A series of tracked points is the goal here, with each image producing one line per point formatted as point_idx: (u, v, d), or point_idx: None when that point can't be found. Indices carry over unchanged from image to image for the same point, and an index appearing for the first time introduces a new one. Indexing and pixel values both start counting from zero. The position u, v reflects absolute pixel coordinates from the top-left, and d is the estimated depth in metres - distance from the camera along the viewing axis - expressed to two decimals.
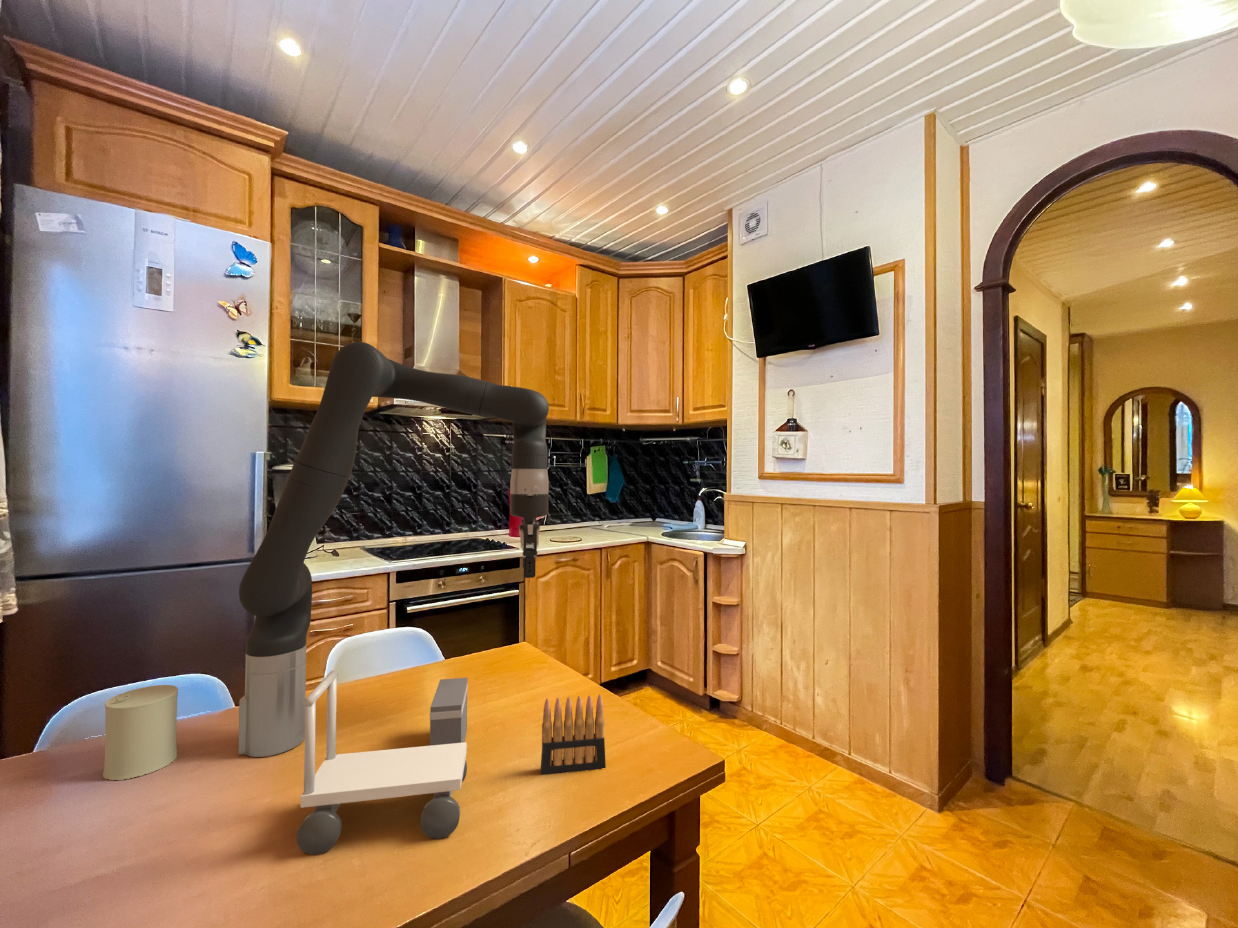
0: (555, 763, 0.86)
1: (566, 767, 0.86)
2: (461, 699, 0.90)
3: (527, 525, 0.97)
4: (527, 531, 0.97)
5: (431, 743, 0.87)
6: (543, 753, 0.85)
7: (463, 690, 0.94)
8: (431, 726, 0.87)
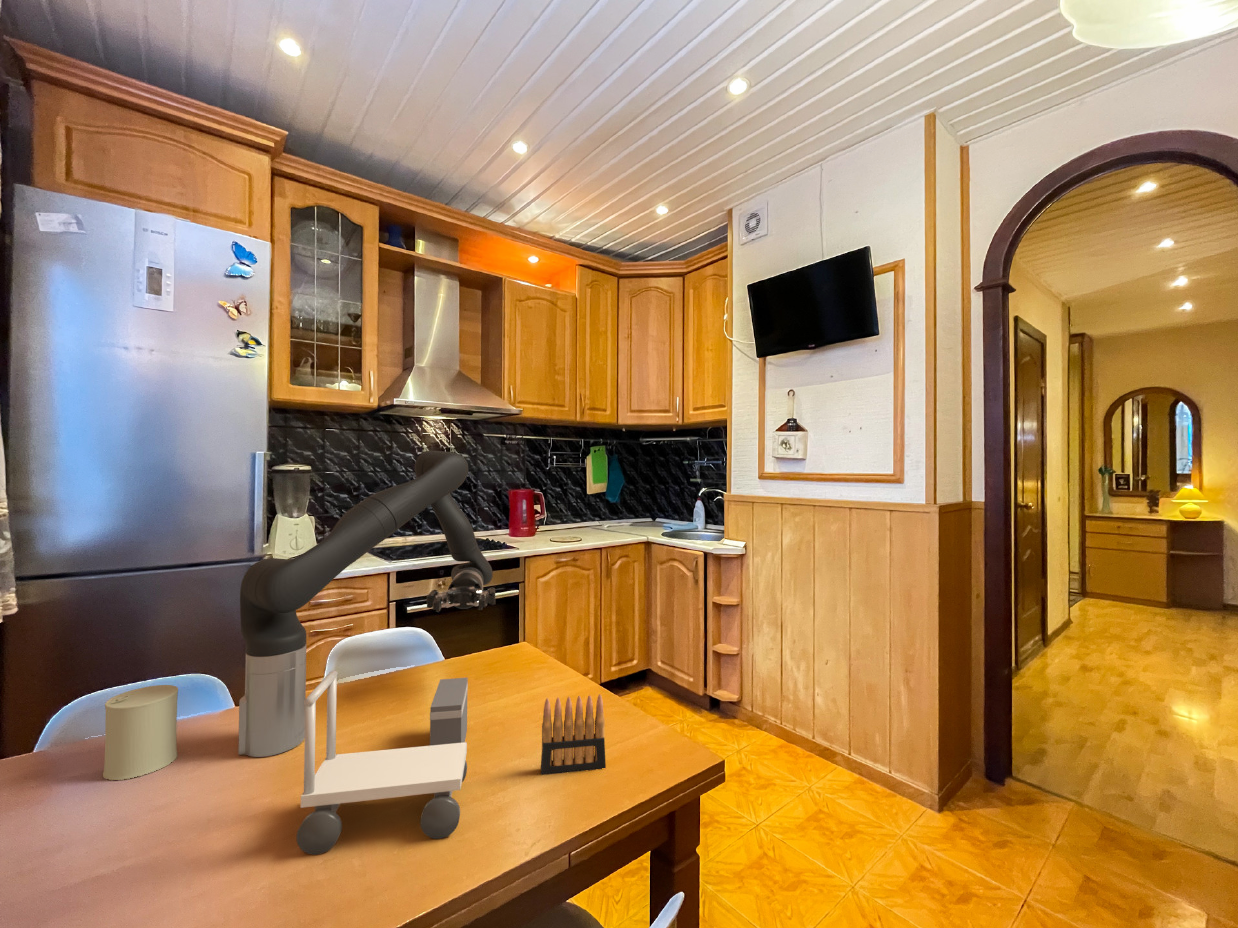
0: (555, 763, 0.86)
1: (566, 767, 0.86)
2: (461, 699, 0.90)
3: None
4: None
5: (431, 743, 0.87)
6: (543, 753, 0.85)
7: (463, 690, 0.94)
8: (431, 726, 0.87)
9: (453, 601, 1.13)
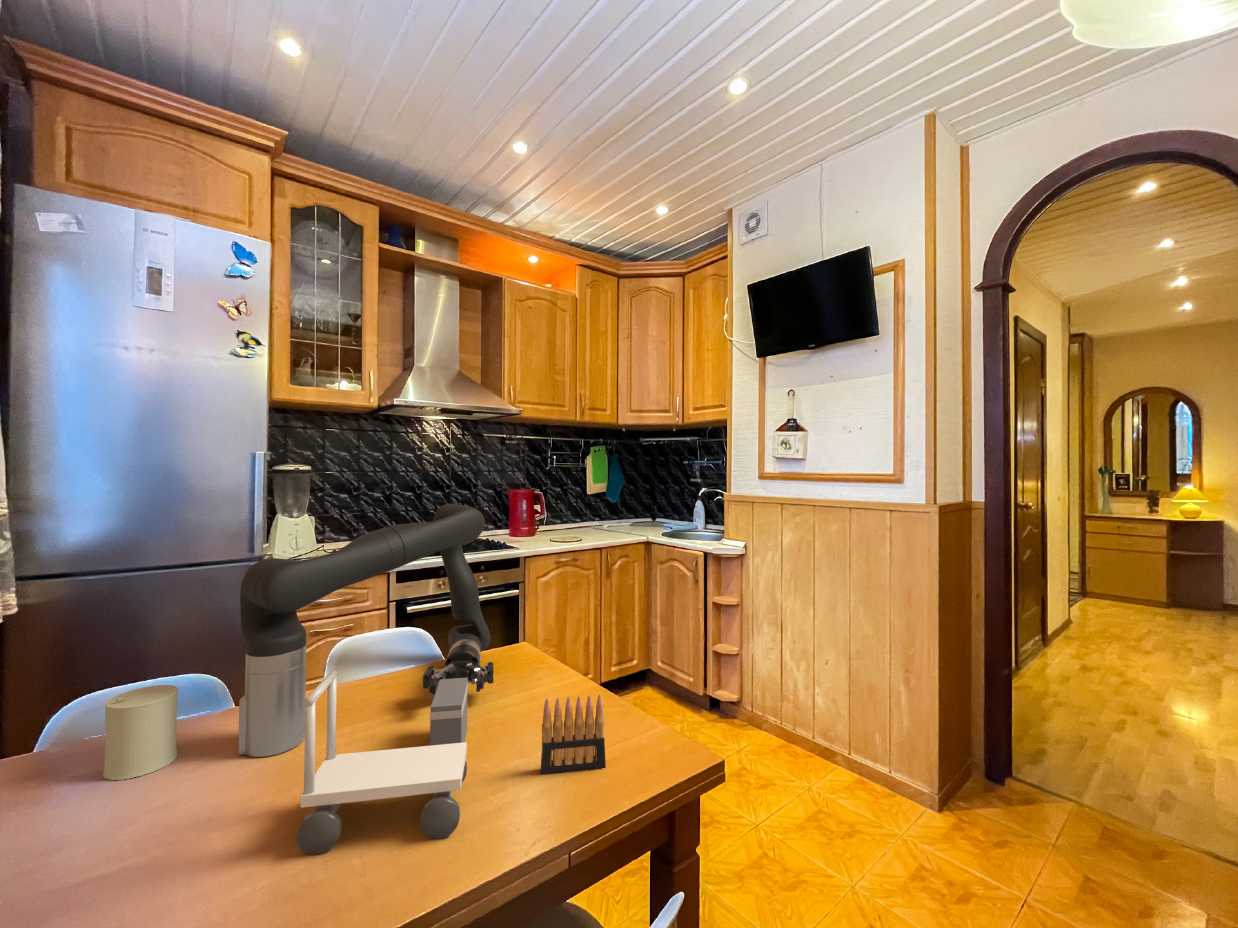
0: (555, 763, 0.86)
1: (566, 767, 0.86)
2: (461, 699, 0.90)
3: None
4: None
5: (431, 743, 0.87)
6: (543, 753, 0.85)
7: (463, 690, 0.94)
8: (431, 726, 0.87)
9: None
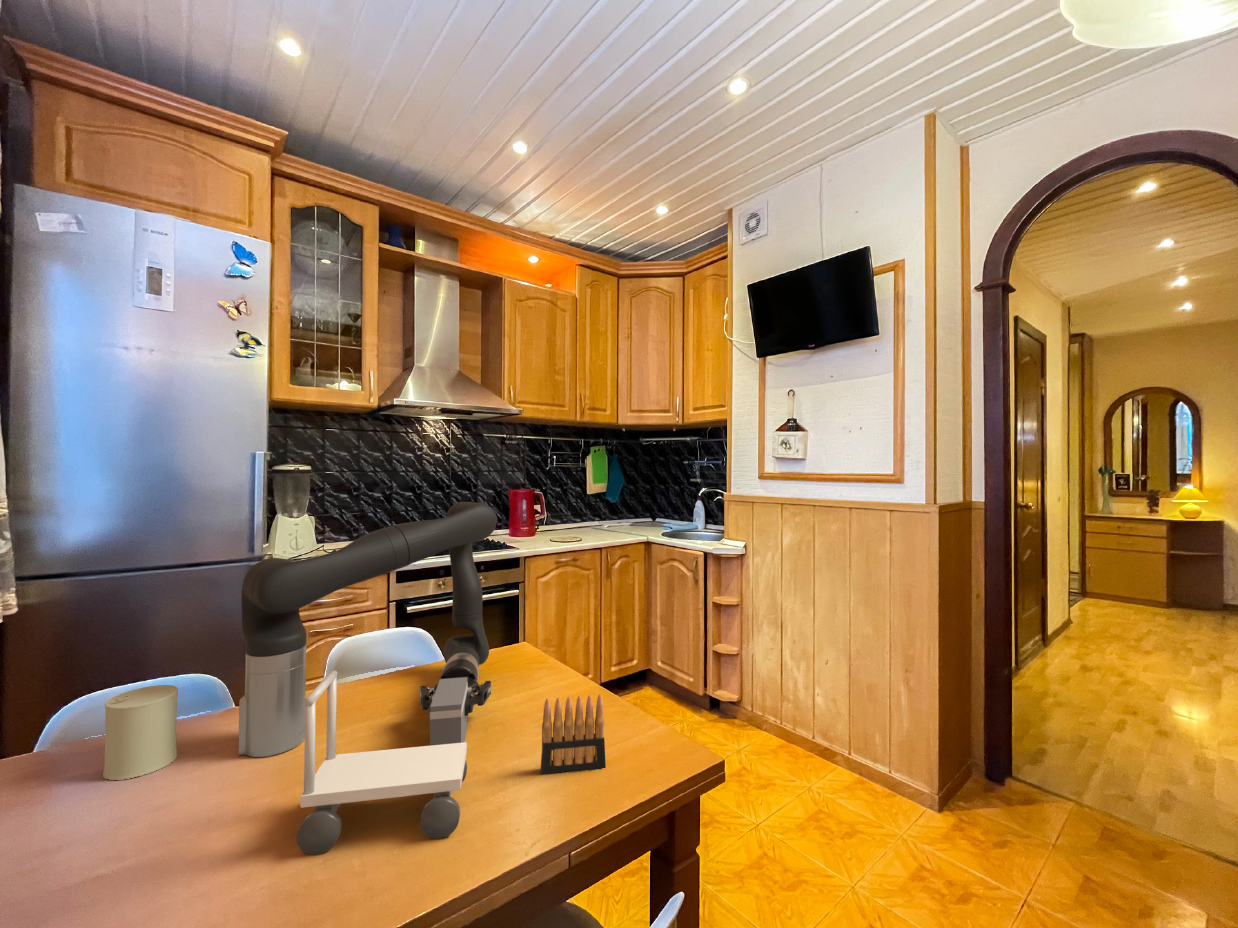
0: (555, 763, 0.86)
1: (566, 767, 0.86)
2: (461, 698, 0.90)
3: None
4: (489, 686, 1.04)
5: (431, 743, 0.87)
6: (543, 753, 0.85)
7: (463, 690, 0.94)
8: (431, 725, 0.87)
9: None
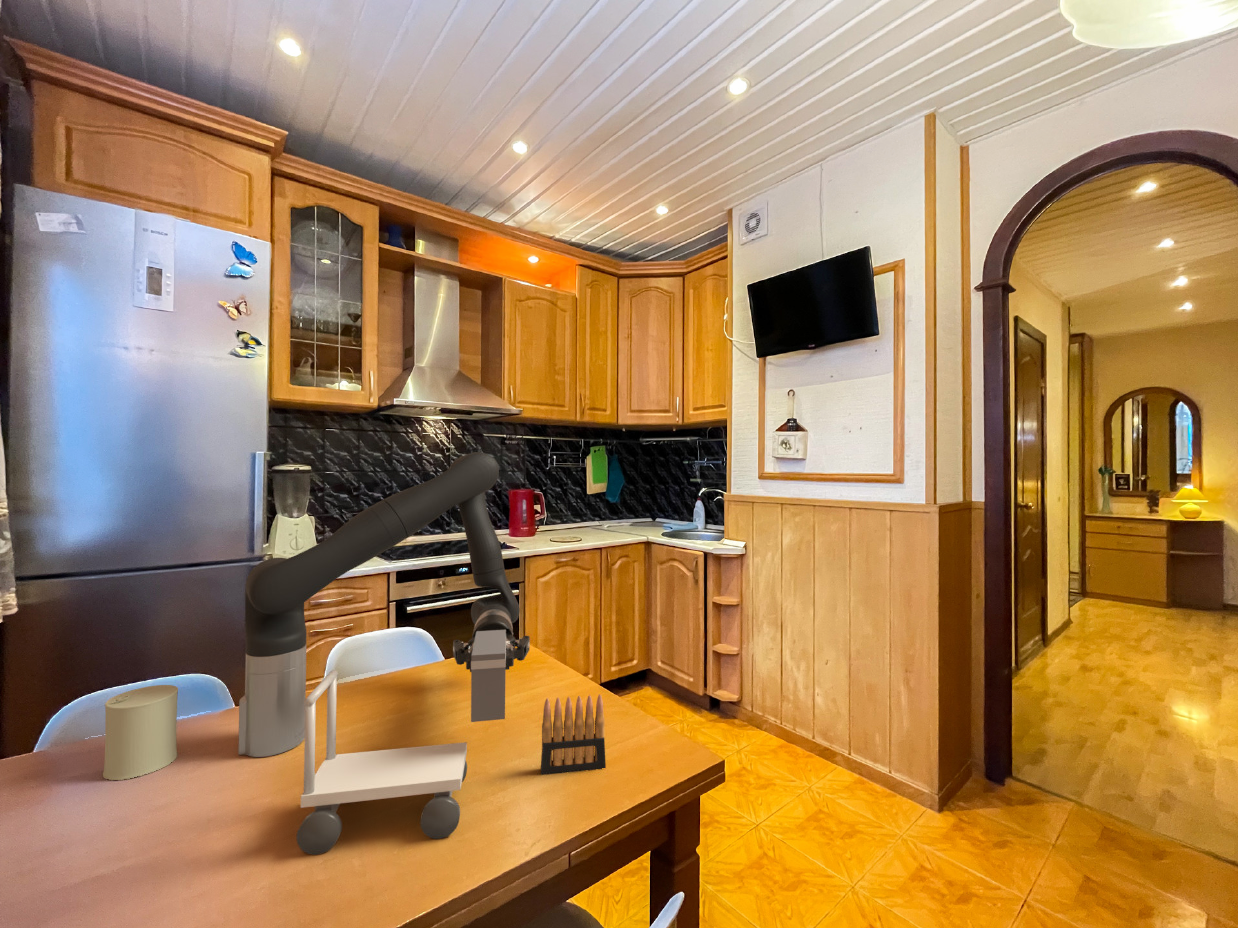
0: (555, 763, 0.86)
1: (566, 767, 0.86)
2: (504, 648, 0.82)
3: None
4: (528, 641, 0.95)
5: (472, 695, 0.78)
6: (543, 753, 0.85)
7: (504, 640, 0.85)
8: (472, 676, 0.79)
9: None
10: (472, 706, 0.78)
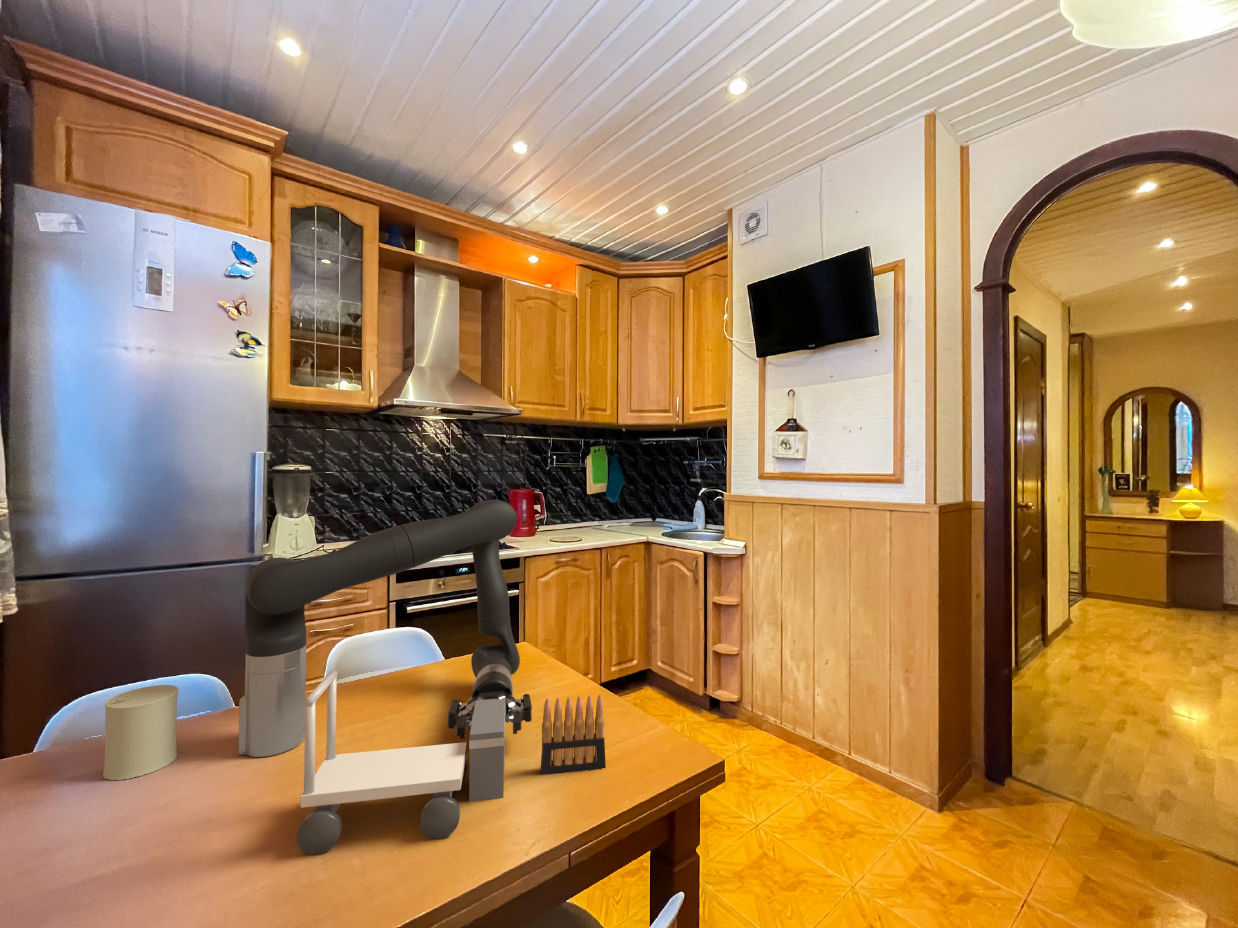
0: (555, 763, 0.86)
1: (566, 767, 0.86)
2: (502, 724, 0.81)
3: None
4: None
5: (471, 775, 0.78)
6: (543, 753, 0.85)
7: (503, 713, 0.85)
8: (471, 756, 0.78)
9: None
10: (470, 786, 0.78)
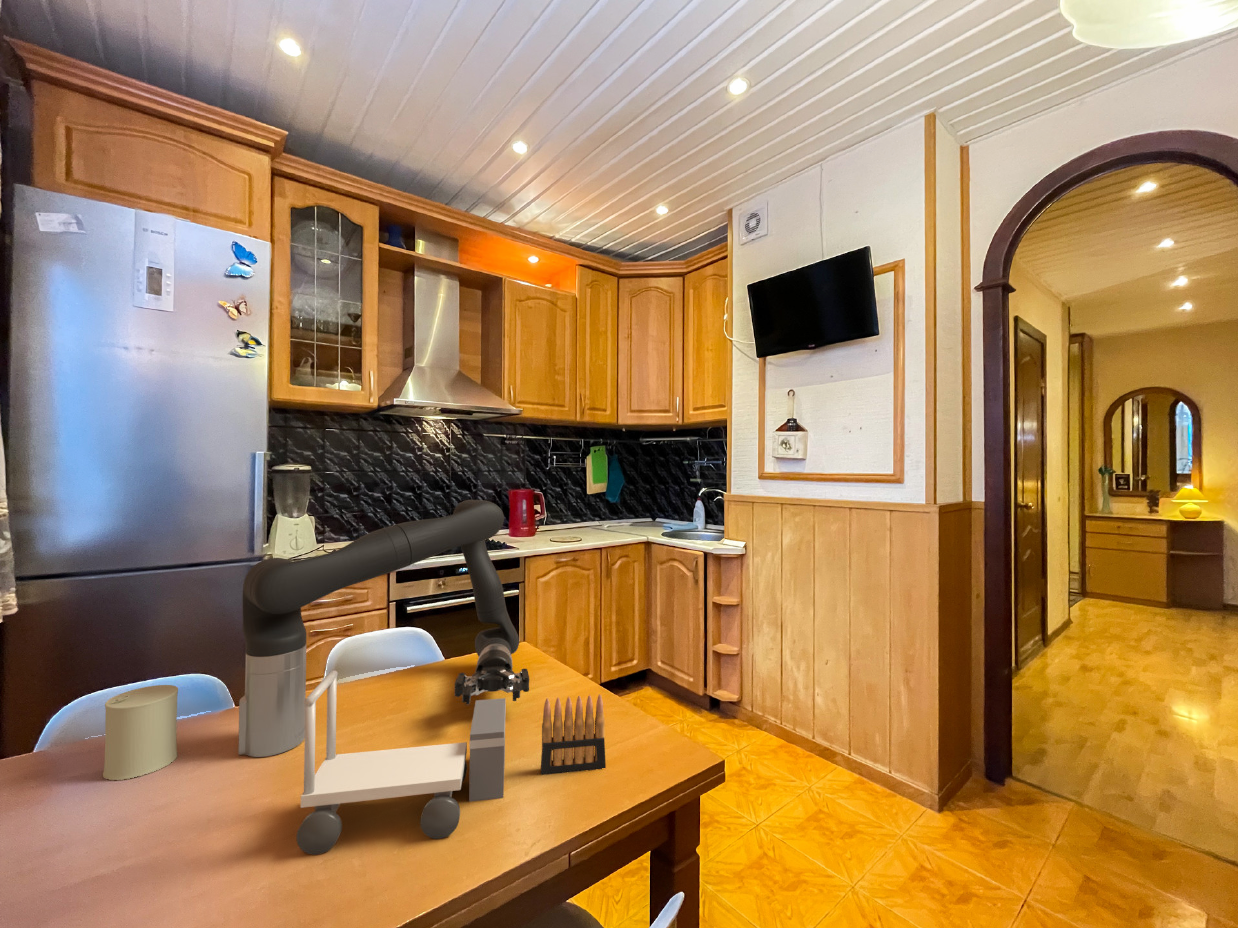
0: (555, 763, 0.86)
1: (566, 767, 0.86)
2: (503, 725, 0.81)
3: None
4: None
5: (471, 775, 0.78)
6: (543, 753, 0.85)
7: (503, 713, 0.85)
8: (471, 756, 0.78)
9: (483, 687, 1.03)
10: (470, 786, 0.78)
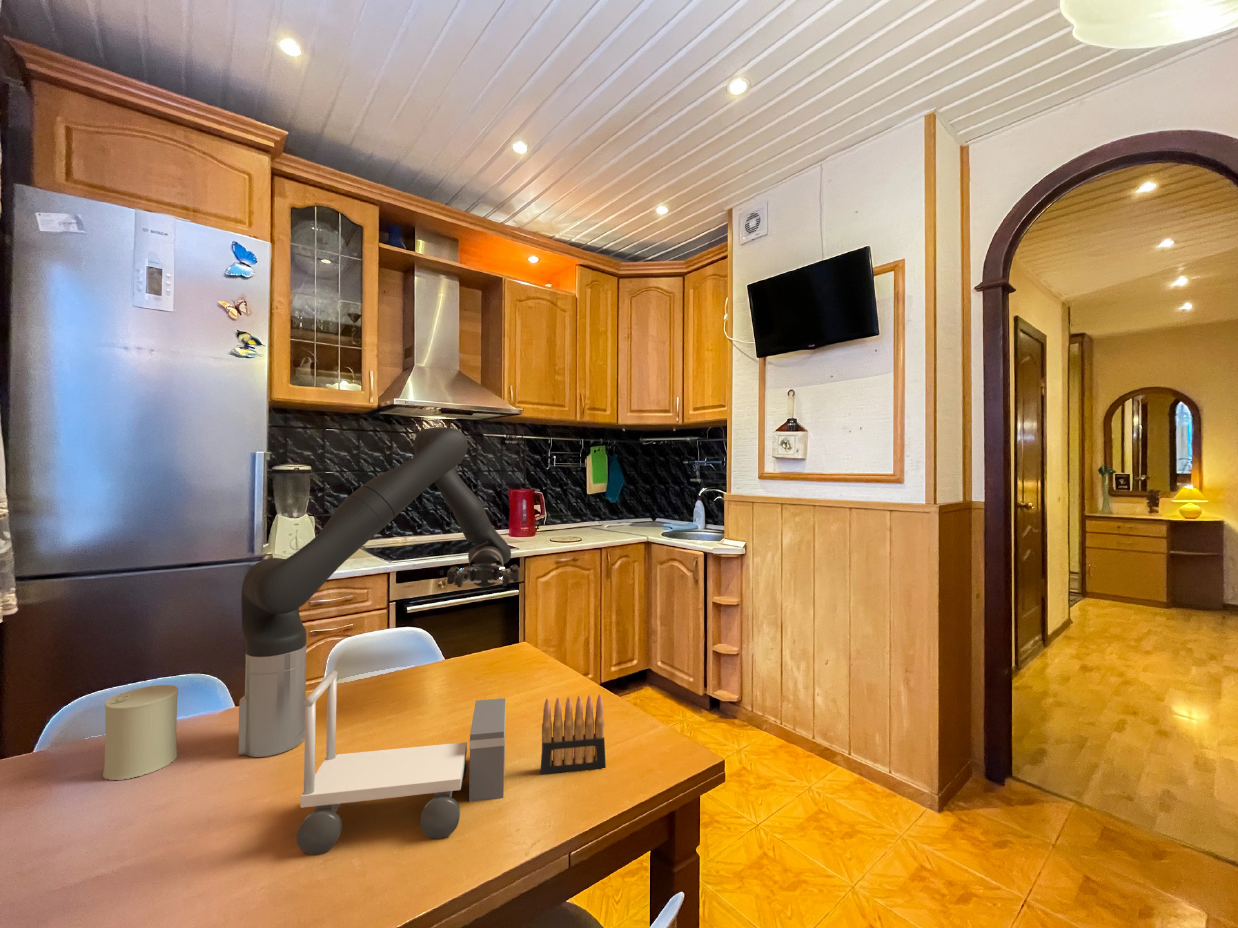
0: (555, 763, 0.86)
1: (566, 767, 0.86)
2: (503, 725, 0.81)
3: None
4: None
5: (471, 775, 0.78)
6: (543, 753, 0.85)
7: (503, 713, 0.85)
8: (471, 756, 0.78)
9: (474, 578, 1.08)
10: (470, 786, 0.78)
